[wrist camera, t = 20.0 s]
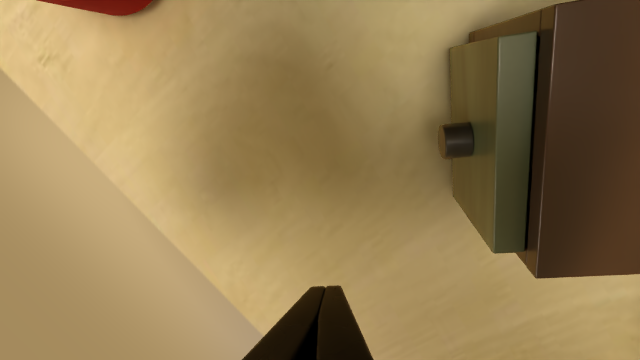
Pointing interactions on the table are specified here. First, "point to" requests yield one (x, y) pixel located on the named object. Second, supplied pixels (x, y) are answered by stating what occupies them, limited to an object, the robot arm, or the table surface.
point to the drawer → (493, 135)
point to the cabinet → (583, 138)
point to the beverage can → (105, 5)
